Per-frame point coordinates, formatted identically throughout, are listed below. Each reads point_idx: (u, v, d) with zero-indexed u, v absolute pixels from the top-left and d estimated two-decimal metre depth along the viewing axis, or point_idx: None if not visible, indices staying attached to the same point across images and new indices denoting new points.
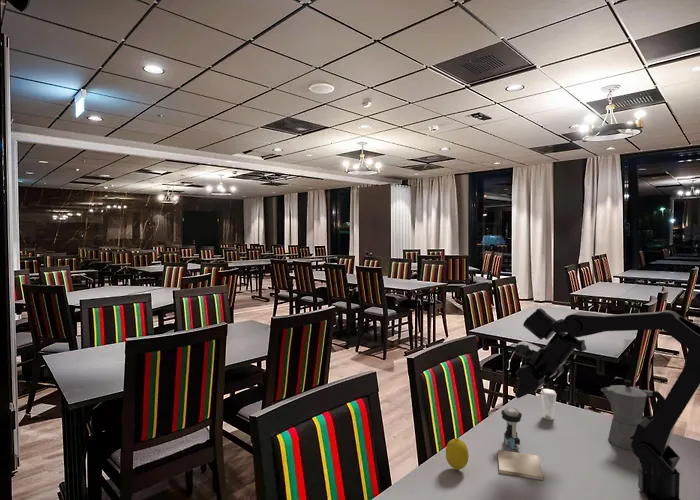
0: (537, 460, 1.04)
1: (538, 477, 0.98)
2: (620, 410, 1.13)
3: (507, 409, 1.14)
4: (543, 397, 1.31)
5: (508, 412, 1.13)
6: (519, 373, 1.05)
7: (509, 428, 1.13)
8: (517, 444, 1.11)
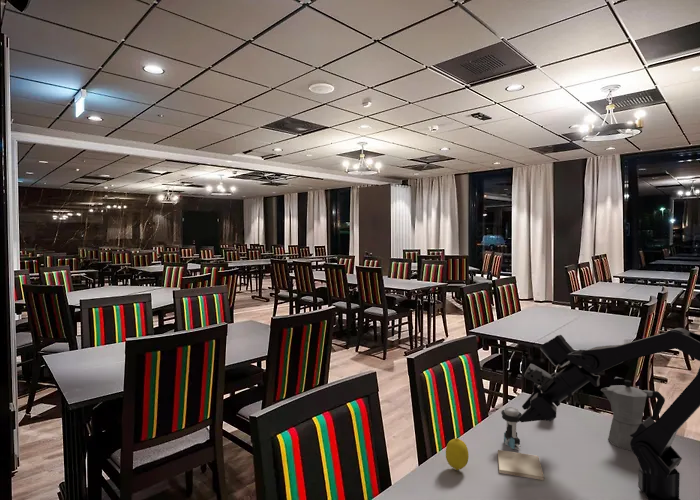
0: (537, 460, 1.04)
1: (538, 477, 0.98)
2: (620, 410, 1.13)
3: (507, 409, 1.14)
4: None
5: (508, 412, 1.13)
6: (537, 402, 1.02)
7: (509, 428, 1.13)
8: (517, 444, 1.11)
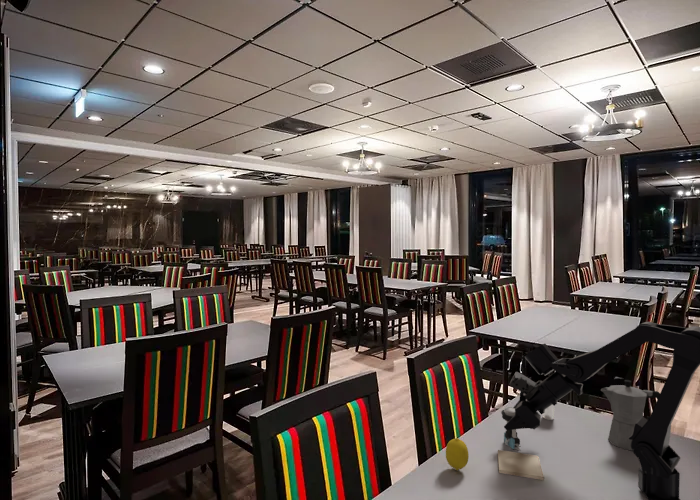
0: (537, 460, 1.04)
1: (538, 477, 0.98)
2: (620, 410, 1.13)
3: (507, 409, 1.14)
4: None
5: (508, 412, 1.13)
6: (521, 411, 1.03)
7: None
8: (517, 444, 1.11)
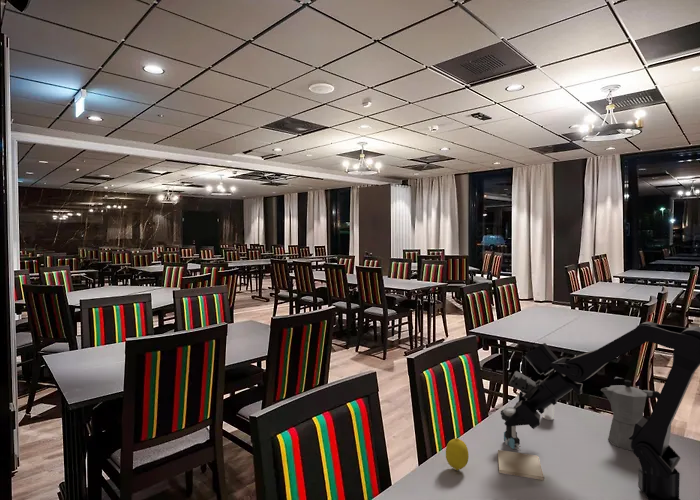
0: (537, 460, 1.04)
1: (538, 477, 0.98)
2: (620, 410, 1.13)
3: (506, 409, 1.14)
4: None
5: (507, 412, 1.12)
6: (520, 410, 1.04)
7: (509, 428, 1.13)
8: (517, 444, 1.11)
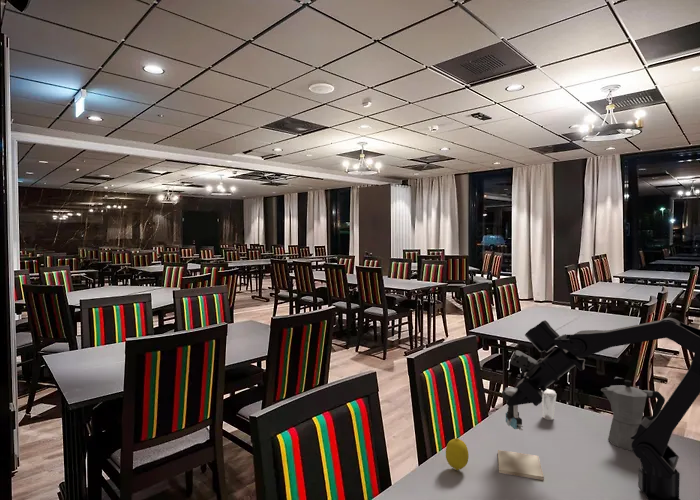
0: (537, 460, 1.04)
1: (538, 477, 0.98)
2: (620, 410, 1.13)
3: (508, 389, 1.12)
4: (543, 397, 1.31)
5: (509, 392, 1.10)
6: (522, 387, 1.02)
7: (510, 408, 1.11)
8: (519, 424, 1.09)
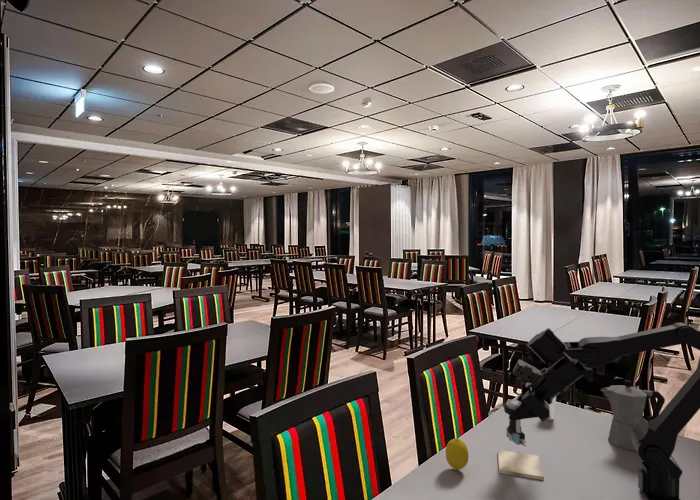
0: (537, 460, 1.04)
1: (538, 477, 0.98)
2: (620, 410, 1.13)
3: (509, 402, 1.04)
4: None
5: (511, 405, 1.02)
6: (528, 401, 0.94)
7: (512, 422, 1.03)
8: (522, 439, 1.01)
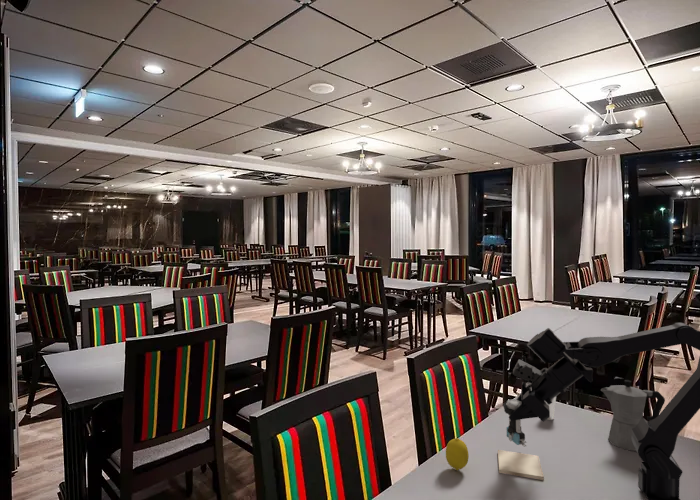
0: (537, 460, 1.04)
1: (538, 477, 0.98)
2: (620, 410, 1.13)
3: (509, 402, 1.04)
4: None
5: (511, 405, 1.02)
6: (528, 401, 0.94)
7: (512, 422, 1.03)
8: (522, 439, 1.01)
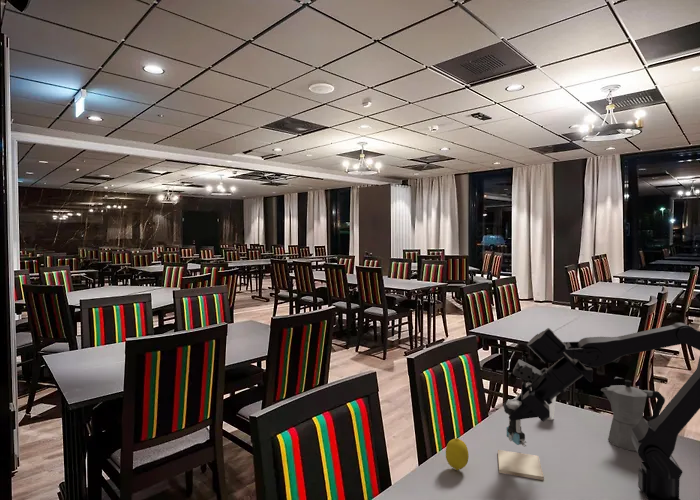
0: (537, 460, 1.04)
1: (538, 477, 0.98)
2: (621, 410, 1.13)
3: (509, 402, 1.04)
4: None
5: (511, 405, 1.02)
6: (528, 401, 0.94)
7: (512, 422, 1.03)
8: (522, 439, 1.01)
